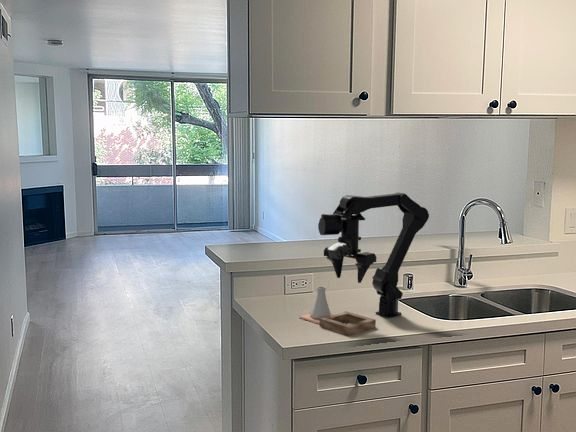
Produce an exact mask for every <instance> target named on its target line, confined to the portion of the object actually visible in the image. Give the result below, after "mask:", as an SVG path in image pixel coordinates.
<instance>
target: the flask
mask: <svg viewBox="0 0 576 432" xmlns="http://www.w3.org/2000/svg"><path fill="white" fill-rule="evenodd" d="M326 289H327V287H326V286H321V285H320V286H316V290H317V291H316V293H317V294H316V298H315V302H314V304H313V307H312V309H311V315H310V316H311V317H312V318H316V319H320V318H324V317H327V316H331V314H332V313H331V309H330V307H329V303H328V301H327V296H326Z"/></svg>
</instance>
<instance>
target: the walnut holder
mask: <svg viewBox="0 0 576 432" xmlns="http://www.w3.org/2000/svg"><path fill="white" fill-rule="evenodd" d="M376 321H377V319H374V318H371V317H367V316H364V315H361V314H357V313H355V312H354V313H353V312H351V311H342V312H338V313H334V314H333V315H331V316H327V317H324V318H320V324H319V327H321V328H324V329H328V330H331V331H333V332H336V333H340V334H343V335H346V336H352V335H355V334H359V333H363V332H364V331H369V330H371V329H374V328H376V325H377V324H376ZM344 322H348V323H350V324H347V323H344Z"/></svg>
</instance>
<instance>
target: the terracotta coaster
mask: <svg viewBox="0 0 576 432" xmlns="http://www.w3.org/2000/svg"><path fill="white" fill-rule="evenodd" d="M310 315H311V313H306V314H302V315H300V316H299V318H300V319H302V320H305V321H308V322H311V323H314V324H318V325H320V319H316V318H312V317H311V316H310ZM331 315H334V314H333V313H331Z"/></svg>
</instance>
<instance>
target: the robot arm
mask: <svg viewBox="0 0 576 432" xmlns="http://www.w3.org/2000/svg"><path fill="white" fill-rule="evenodd" d="M393 206H397V207H398V209H399V210H400V212H402V213H403V217H402V228H401V230H400V232H399V235H398V237H397V239H396V242H394V245H393V248H392V250H391V252H390V254H389V256H388V259H387V261H386V263H385V265H383V267H381V268H379V267H377V268H376V270H375V273H374V275H373V276H372V277H371V278H372V283H371V284H372V287H373V289H374V290H376V294H377V295H379V302H378V311H376V312H375V315H379V316H382V317H386V318H394V317H397V316H401V315H402V312H401V311H399V300H402V298H403V293H404V292H402V291H401V290H400V289H399V288H398V287H397V286H398V282H399V271H400V269H401V266H402V265H403V262H404V260H405V257H406V256H407V253H408V251H409V248H410V247H411V245H412V242H413V240H414V238H415V236H416V234H418V232H419V231H421V229H423V227H425V225H426V224H427V222H428V220H429V218H430V213H429V211H428V209H427V208H425V207H424V206H421V205H420V204H419V203H417V202H416V201H415V200H413V199H411V198H410V196H408V195H407V194H406V193H404V192H395V193H391V194H390V193H389V194H379V195H372V196H371V195H369V196H360V195H352V194H351V195H348V194H346V195H343V196H342V197H341V199H340V200H339V204H338V206H337V207H336V208H335V210H334V211H333V212H332V213H331V214H325V213H322V214H321V216H320V218H319V222H318V223H317V227H318V228H317V229H318V232H319V234H320V236H331V235H332V236H333V235H334V236H336V235H340V236H338V238H337V242H335V243H334V244H332V245H331V246H328V247H325V248H324V250H323V256H324V257H326V259H327V260H329V261H330V262H331V264H332V266H333V270H334V272H335V275H336V278H337V279H340V278H341V276H342V270H343V263H344V259H345V258H350V259H354V260H355V261H356V263H355V266H356V268H357V283H358V284H360V283H362V281H363V279H364V277H365V275H366V273H367V271H368V270H369V268H370V267H371V265H374V263H377V255H376V254H375V253H374V252H369V251H365V252H364V251H363V252H361V251H362V250H361V248H359V241H361V240H362V236H360V235H359V234H360V226H359V225H360V221H366V217H364V216H363V215H362V213H365V212H366V211H368V210H371V209H377V208H386V207H393ZM340 233H341V234H340ZM344 257H345V258H344Z"/></svg>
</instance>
